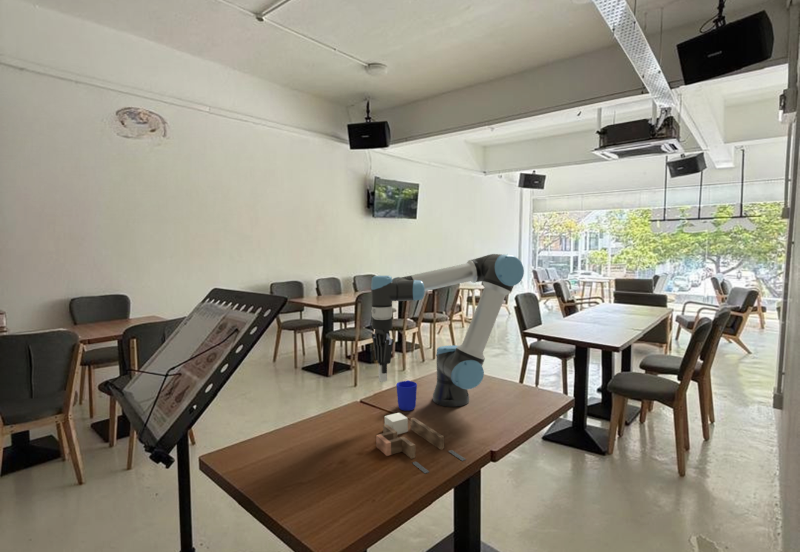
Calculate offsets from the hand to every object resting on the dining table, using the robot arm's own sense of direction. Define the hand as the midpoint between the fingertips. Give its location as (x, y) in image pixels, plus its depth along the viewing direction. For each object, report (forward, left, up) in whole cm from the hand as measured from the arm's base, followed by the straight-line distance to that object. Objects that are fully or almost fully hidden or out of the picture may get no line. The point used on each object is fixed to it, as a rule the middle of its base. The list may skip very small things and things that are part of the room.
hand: (382, 381), depth 159 cm
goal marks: (+35, 0, -15) cm, 38 cm away
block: (+9, 0, -16) cm, 18 cm away
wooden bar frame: (+20, -3, -15) cm, 25 cm away
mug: (-8, +15, -16) cm, 23 cm away
